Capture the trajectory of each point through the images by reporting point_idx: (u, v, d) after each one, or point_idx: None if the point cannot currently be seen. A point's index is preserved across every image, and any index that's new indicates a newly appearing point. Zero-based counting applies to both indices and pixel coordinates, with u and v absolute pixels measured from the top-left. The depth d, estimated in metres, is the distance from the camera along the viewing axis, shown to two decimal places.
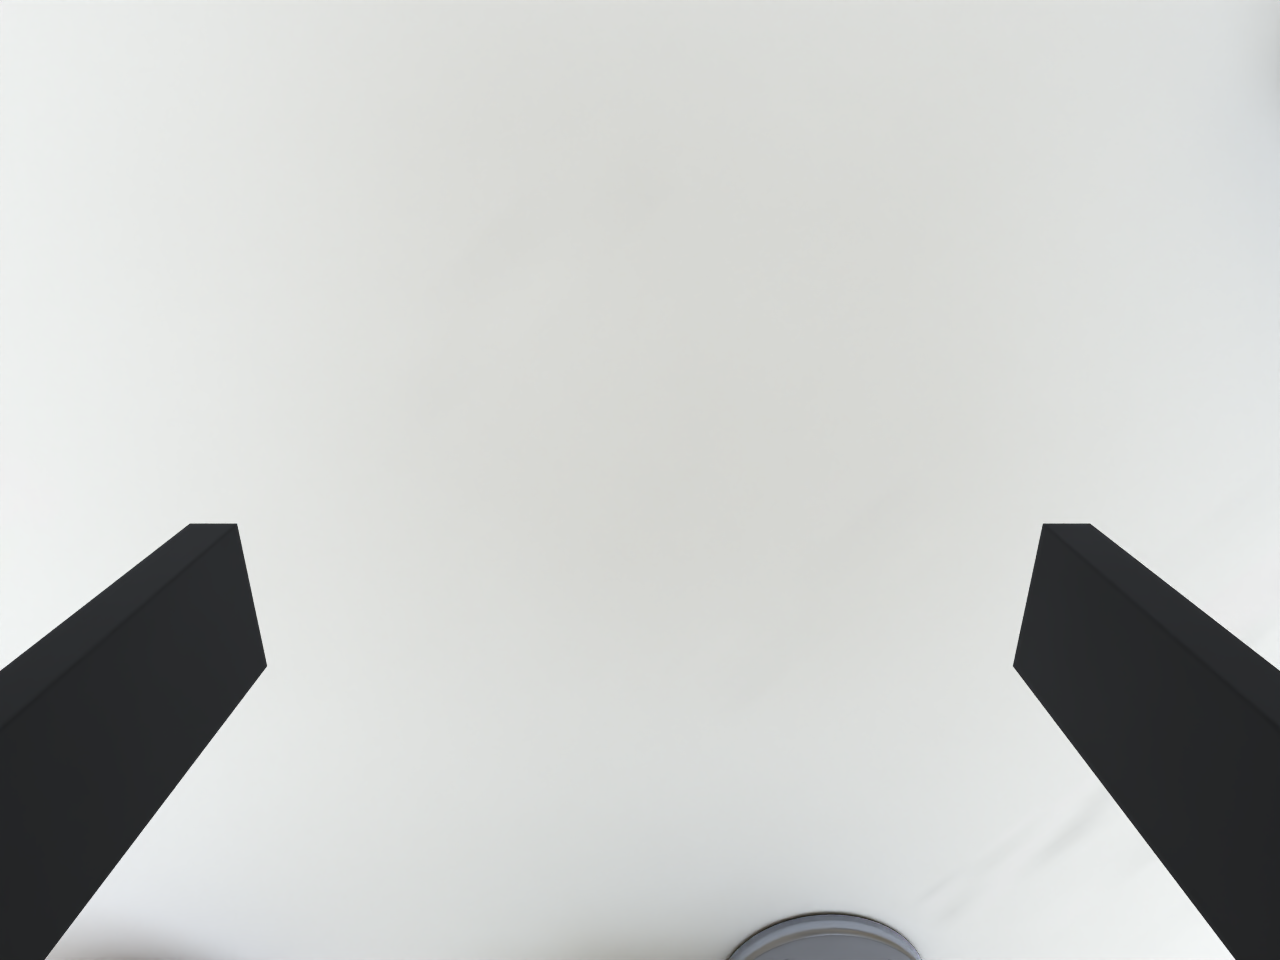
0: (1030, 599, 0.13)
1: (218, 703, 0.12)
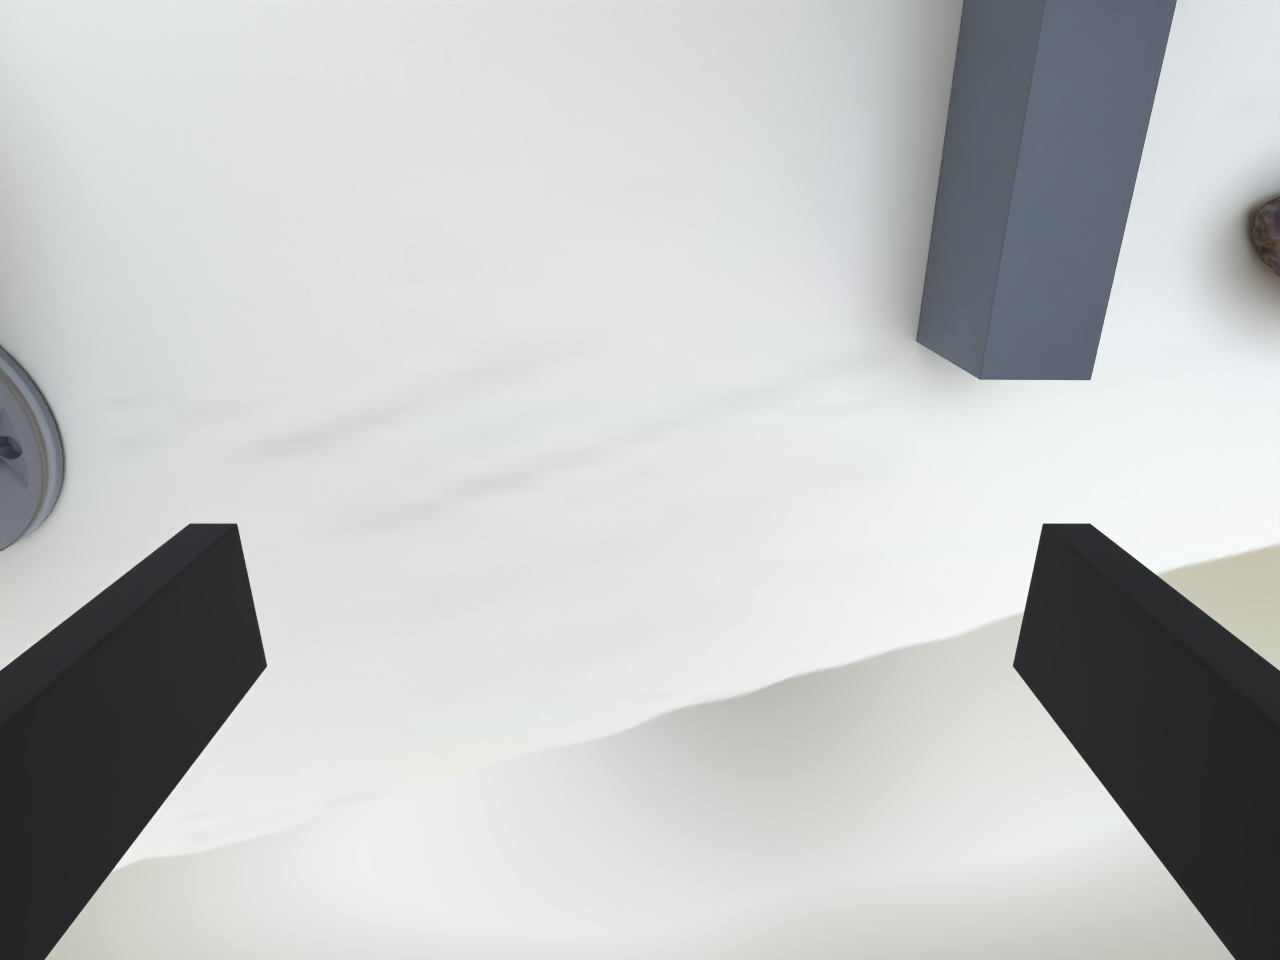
0: (1030, 599, 0.13)
1: (219, 703, 0.12)
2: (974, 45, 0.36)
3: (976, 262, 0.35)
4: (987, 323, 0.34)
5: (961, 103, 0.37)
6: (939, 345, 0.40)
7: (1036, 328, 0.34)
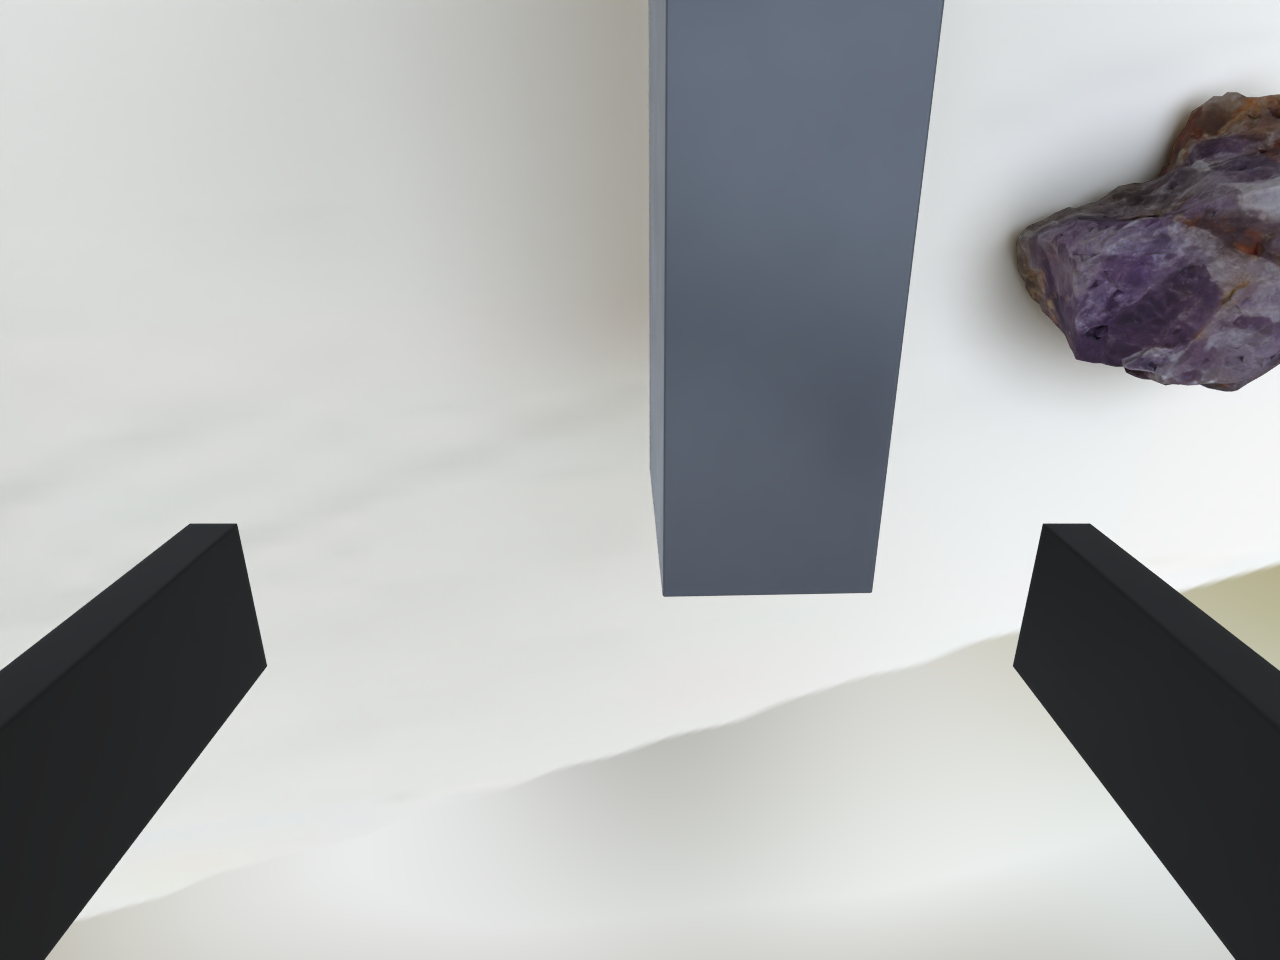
0: (1029, 598, 0.13)
1: (219, 702, 0.12)
2: None
3: (658, 374, 0.19)
4: (663, 499, 0.18)
5: (651, 76, 0.20)
6: (654, 493, 0.23)
7: (755, 508, 0.18)
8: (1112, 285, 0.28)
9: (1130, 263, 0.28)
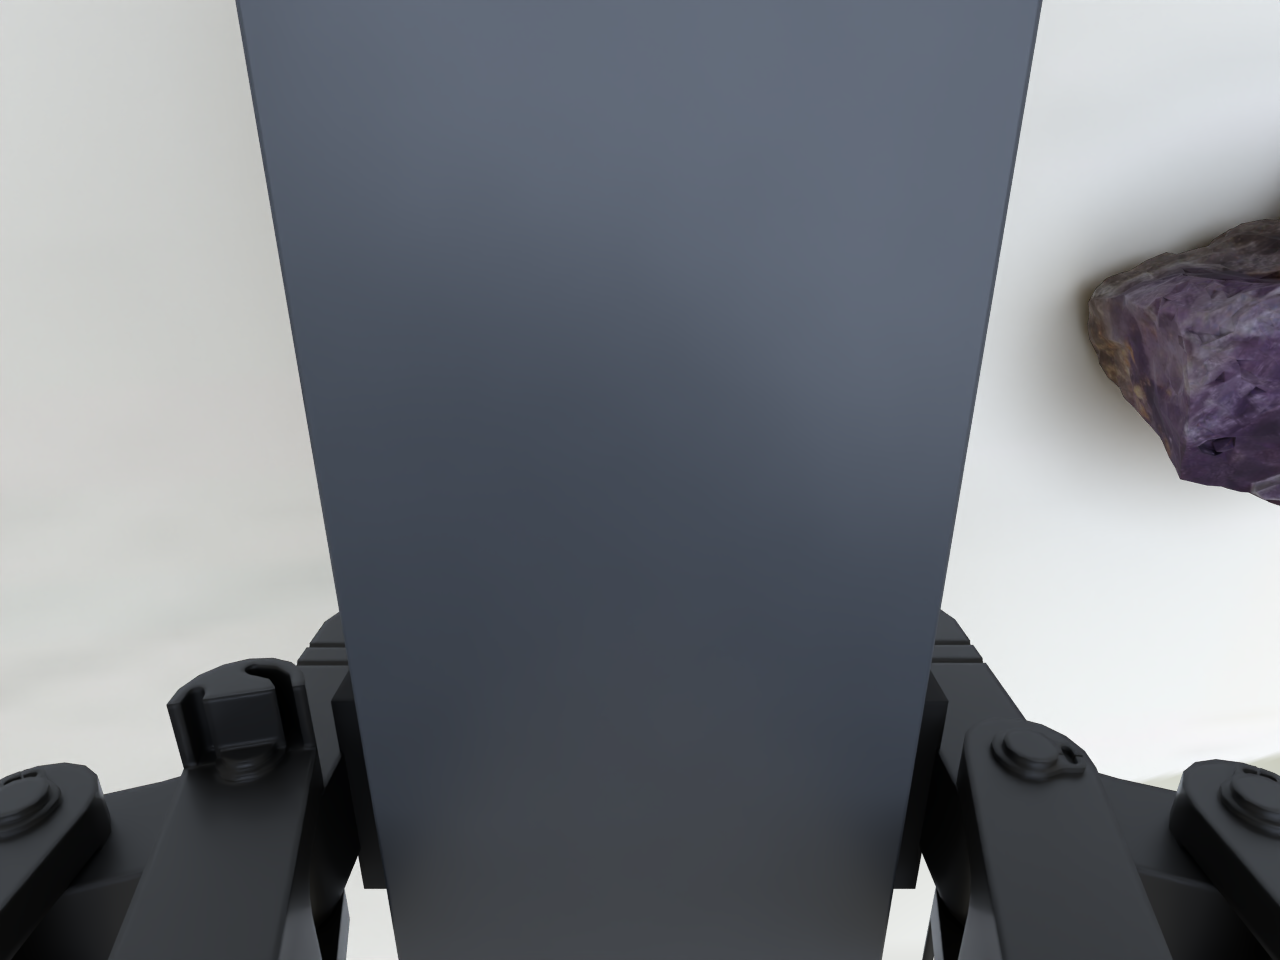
0: None
1: None
2: None
3: None
4: (401, 948, 0.08)
5: None
6: None
7: None
8: (1248, 381, 0.19)
9: (1279, 350, 0.18)
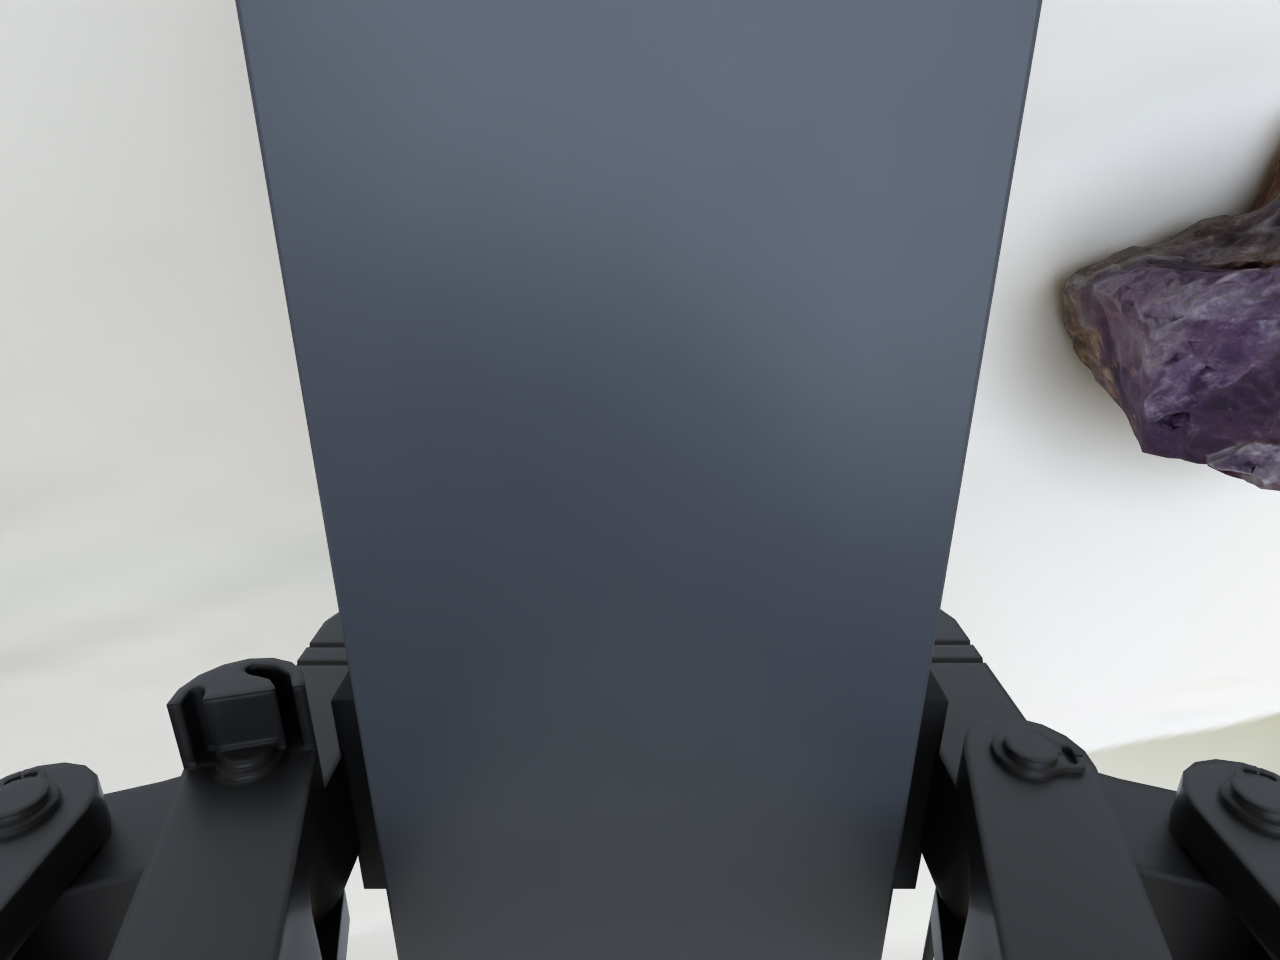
0: None
1: None
2: None
3: None
4: (401, 948, 0.08)
5: None
6: None
7: None
8: (1199, 360, 0.21)
9: (1226, 332, 0.20)
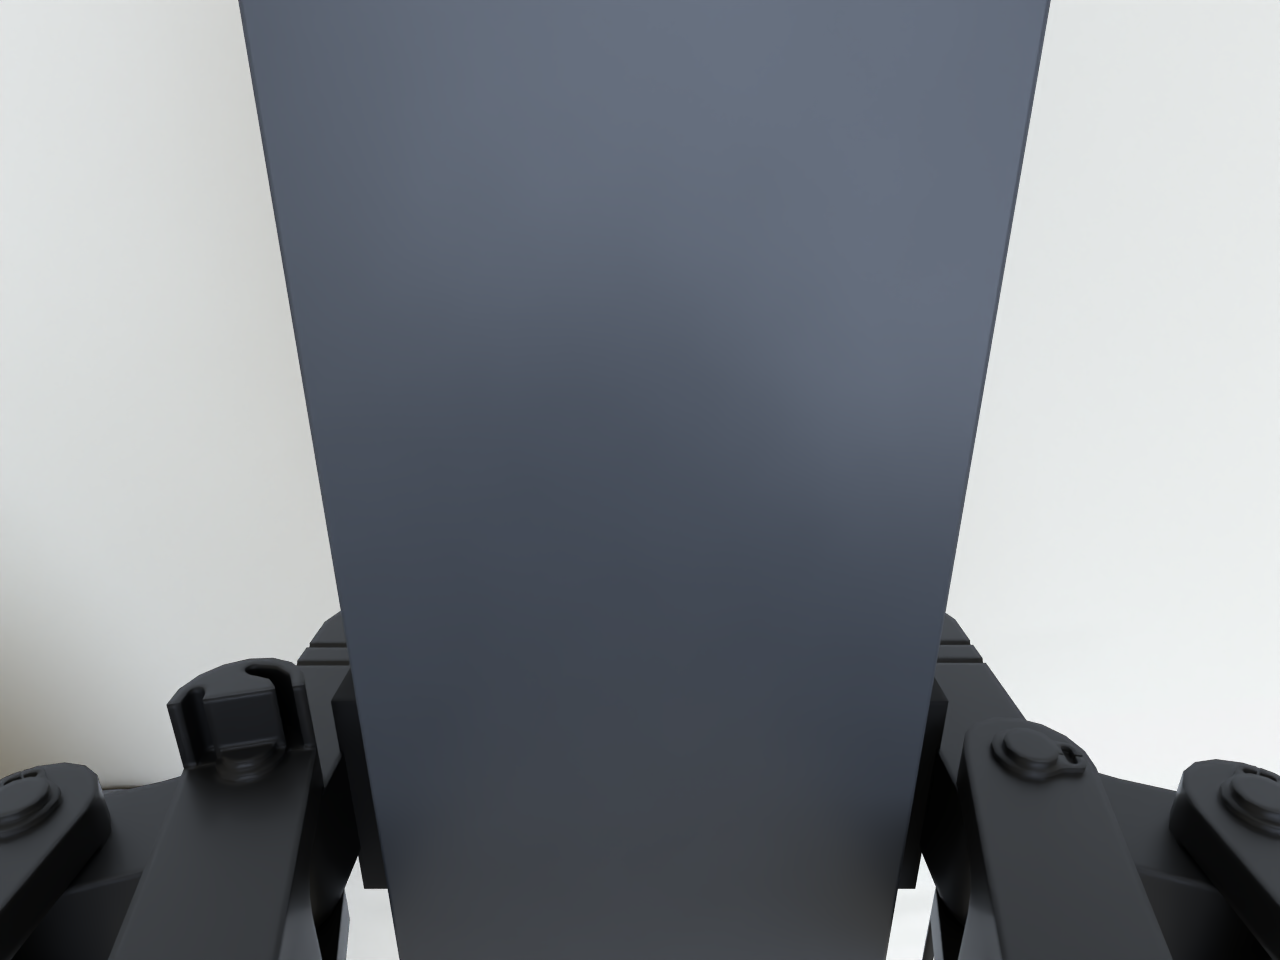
0: None
1: None
2: None
3: None
4: (403, 949, 0.08)
5: None
6: None
7: None
8: None
9: None
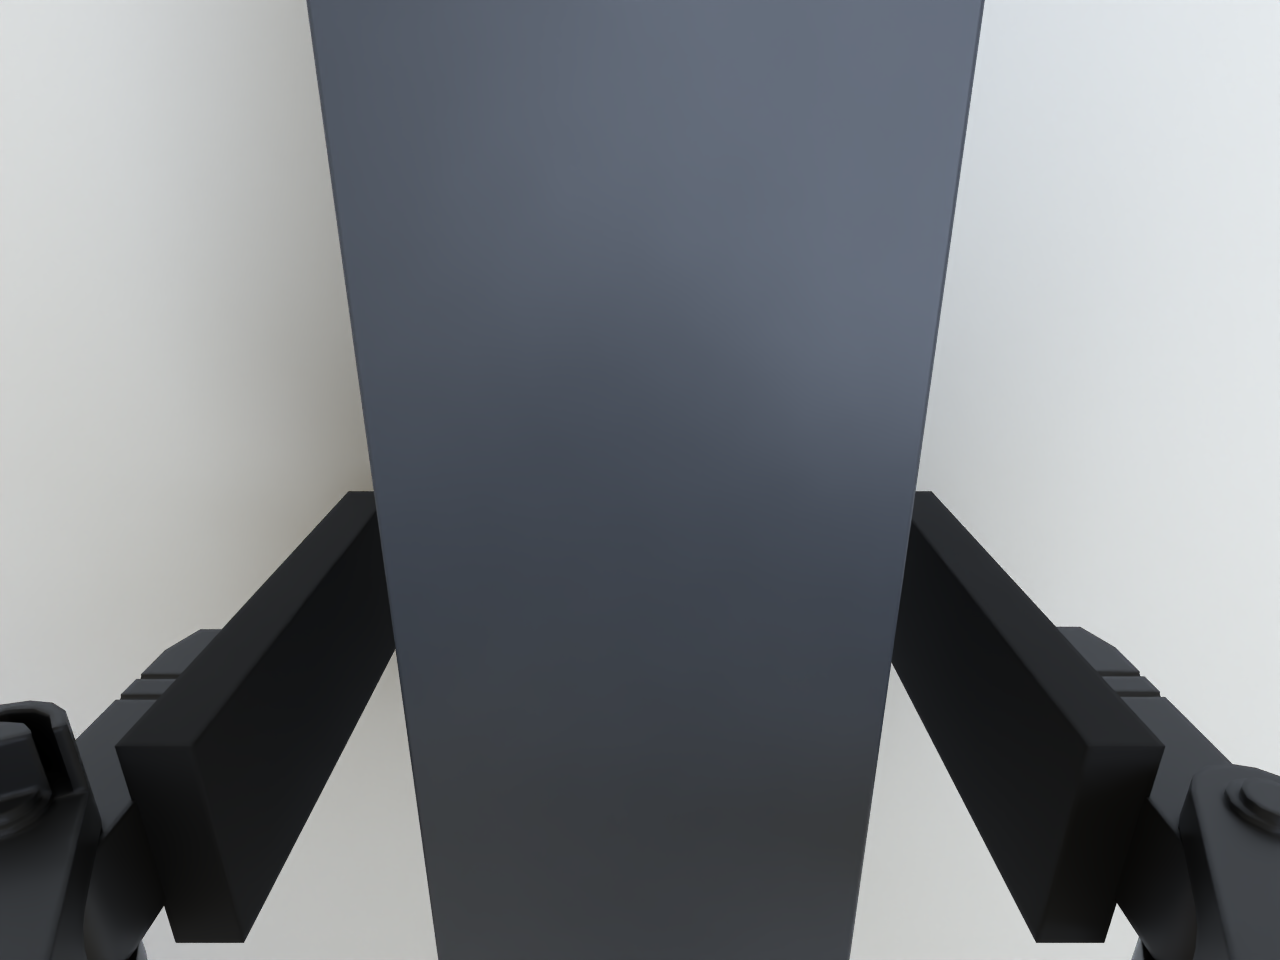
0: None
1: (380, 652, 0.13)
2: None
3: None
4: (430, 870, 0.09)
5: None
6: None
7: (609, 894, 0.09)
8: None
9: None
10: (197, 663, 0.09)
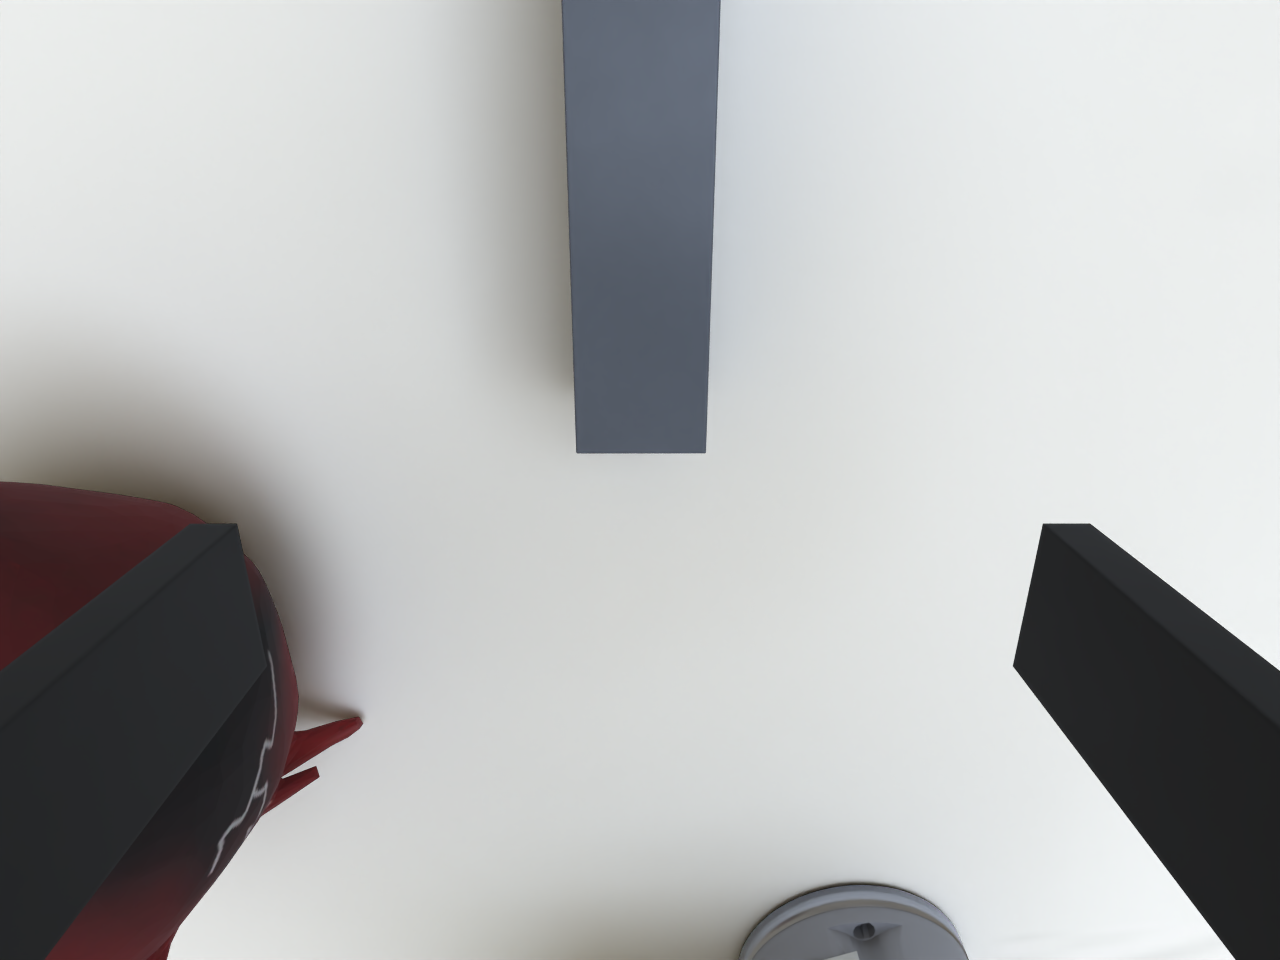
0: (1030, 598, 0.13)
1: (218, 703, 0.12)
2: None
3: None
4: (574, 390, 0.29)
5: None
6: None
7: (630, 396, 0.29)
8: None
9: None
10: None
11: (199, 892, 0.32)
